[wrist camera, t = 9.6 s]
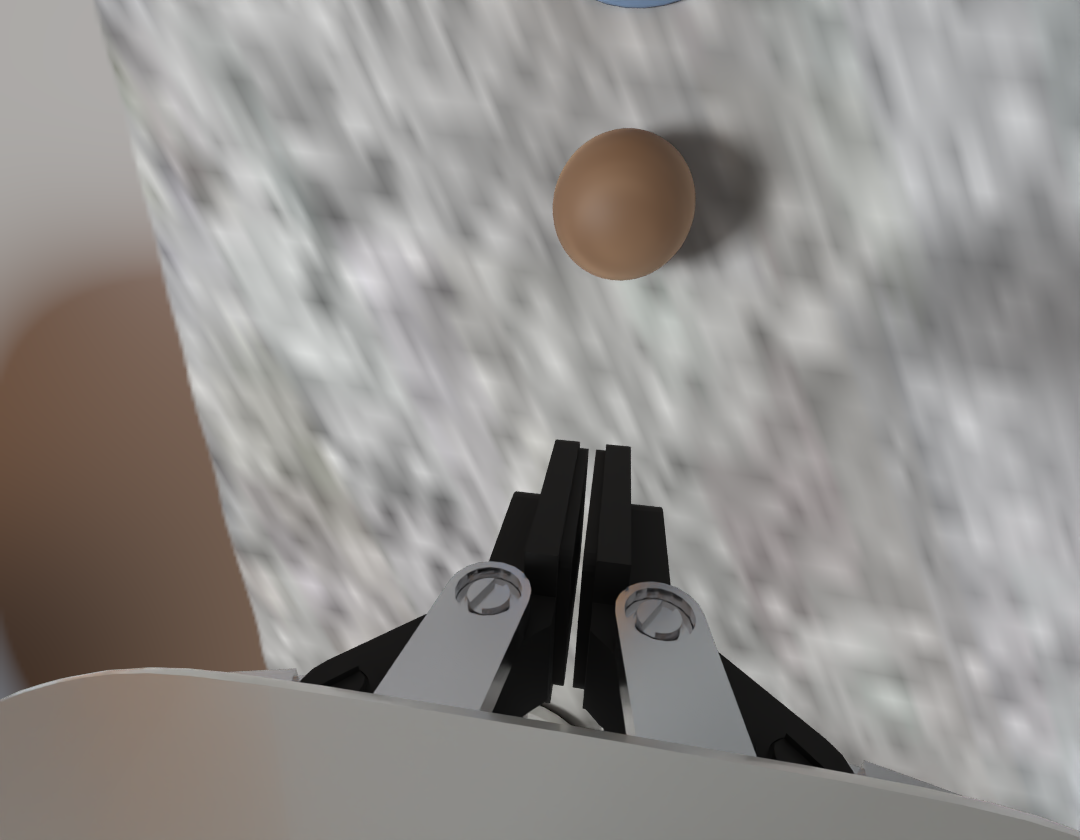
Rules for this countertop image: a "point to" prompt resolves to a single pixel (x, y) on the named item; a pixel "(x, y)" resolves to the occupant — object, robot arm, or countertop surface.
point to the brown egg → (624, 204)
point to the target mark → (637, 3)
